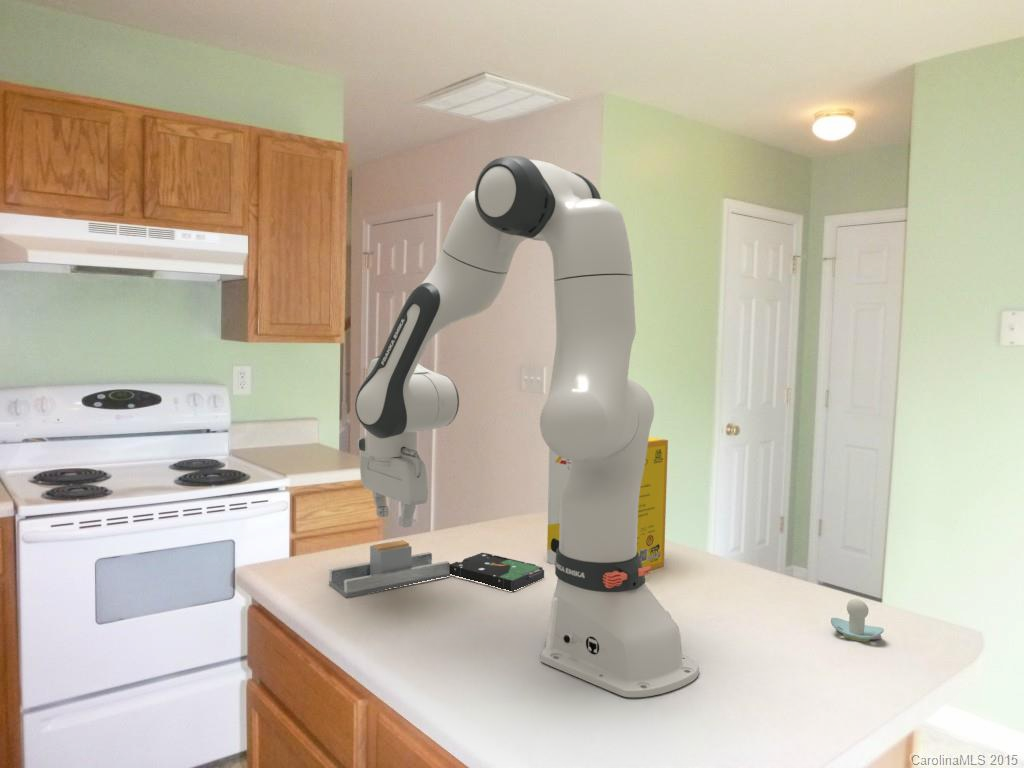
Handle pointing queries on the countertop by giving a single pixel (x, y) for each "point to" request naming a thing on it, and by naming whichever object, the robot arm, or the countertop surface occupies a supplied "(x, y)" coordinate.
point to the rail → (385, 576)
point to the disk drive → (497, 571)
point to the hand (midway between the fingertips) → (393, 521)
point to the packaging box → (648, 506)
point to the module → (390, 557)
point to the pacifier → (857, 623)
